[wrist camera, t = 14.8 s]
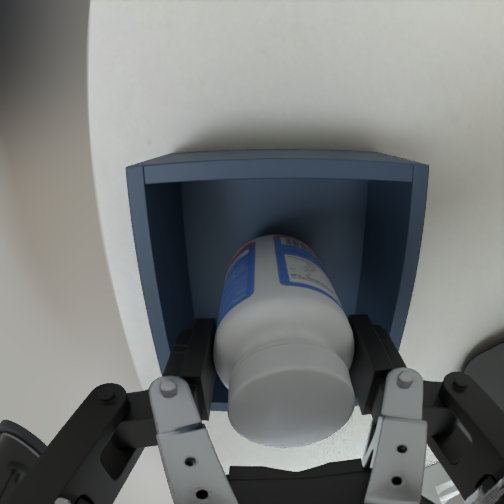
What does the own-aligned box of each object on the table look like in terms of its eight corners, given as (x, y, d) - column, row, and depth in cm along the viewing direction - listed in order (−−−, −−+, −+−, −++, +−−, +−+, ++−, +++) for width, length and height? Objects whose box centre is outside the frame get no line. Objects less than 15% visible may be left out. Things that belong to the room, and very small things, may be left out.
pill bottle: (243, 327, 19) (232, 467, 10) (213, 247, 17) (168, 370, 8) (331, 305, 19) (377, 438, 9) (312, 220, 17) (369, 326, 8)
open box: (190, 342, 23) (170, 408, 17) (169, 153, 18) (125, 167, 12) (357, 338, 23) (382, 402, 17) (376, 152, 18) (429, 165, 12)
